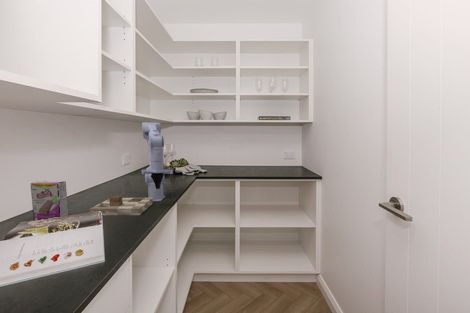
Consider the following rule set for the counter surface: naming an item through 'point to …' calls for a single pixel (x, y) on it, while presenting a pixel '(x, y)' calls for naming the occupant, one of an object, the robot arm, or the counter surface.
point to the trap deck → (124, 206)
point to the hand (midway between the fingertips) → (158, 188)
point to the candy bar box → (49, 199)
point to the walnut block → (115, 200)
